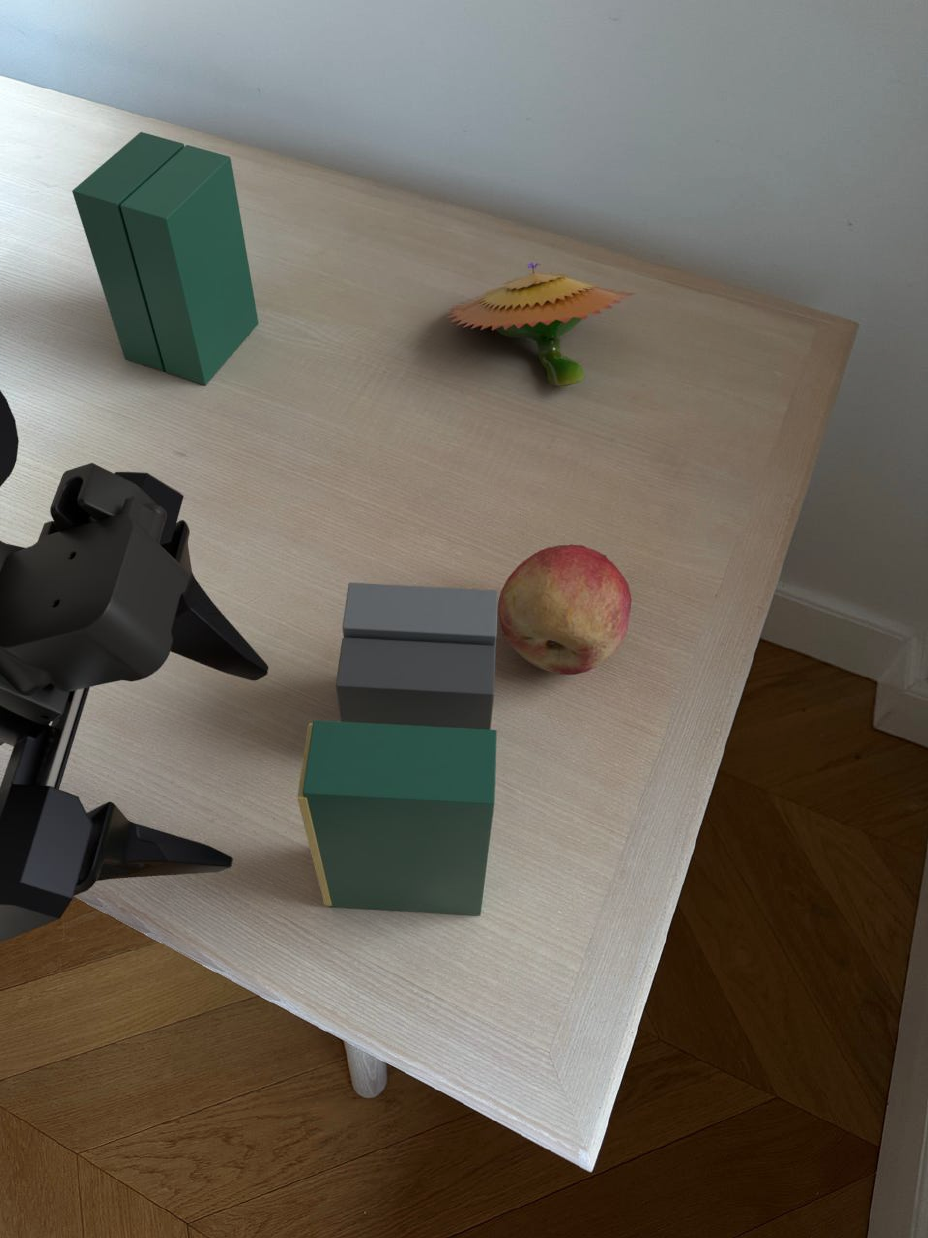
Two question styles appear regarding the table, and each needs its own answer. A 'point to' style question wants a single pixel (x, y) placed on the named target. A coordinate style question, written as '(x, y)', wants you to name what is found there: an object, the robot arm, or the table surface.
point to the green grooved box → (170, 254)
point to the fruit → (565, 609)
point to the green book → (399, 814)
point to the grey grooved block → (418, 656)
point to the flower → (540, 315)
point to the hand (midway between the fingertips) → (245, 764)
